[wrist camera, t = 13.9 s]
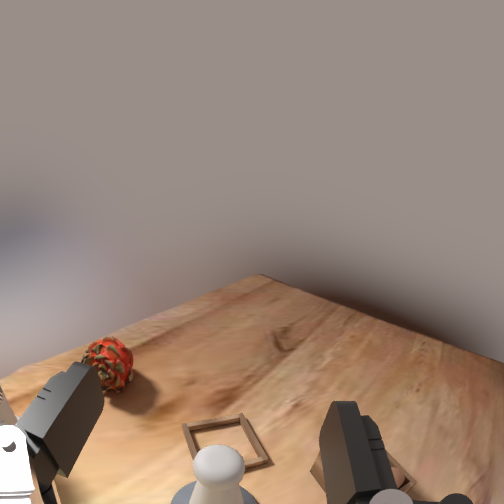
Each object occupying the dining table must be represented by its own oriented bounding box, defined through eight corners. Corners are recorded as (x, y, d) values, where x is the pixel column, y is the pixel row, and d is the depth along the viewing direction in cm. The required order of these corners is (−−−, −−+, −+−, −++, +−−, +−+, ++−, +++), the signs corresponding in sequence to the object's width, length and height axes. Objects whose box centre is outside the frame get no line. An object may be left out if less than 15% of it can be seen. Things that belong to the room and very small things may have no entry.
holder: (241, 417, 41) (242, 413, 41) (267, 462, 33) (268, 459, 33) (181, 428, 37) (181, 423, 37) (200, 478, 30) (200, 475, 29)
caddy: (346, 455, 34) (368, 414, 31) (390, 507, 25) (425, 472, 22) (309, 471, 32) (329, 430, 29) (354, 530, 22) (387, 499, 19)
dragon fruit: (117, 415, 39) (105, 375, 48) (155, 381, 41) (136, 346, 51) (75, 384, 35) (72, 346, 45) (115, 347, 37) (104, 315, 47)
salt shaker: (244, 496, 27) (257, 437, 23) (241, 535, 22) (255, 491, 18) (193, 490, 27) (189, 429, 23) (186, 529, 22) (177, 481, 18)
